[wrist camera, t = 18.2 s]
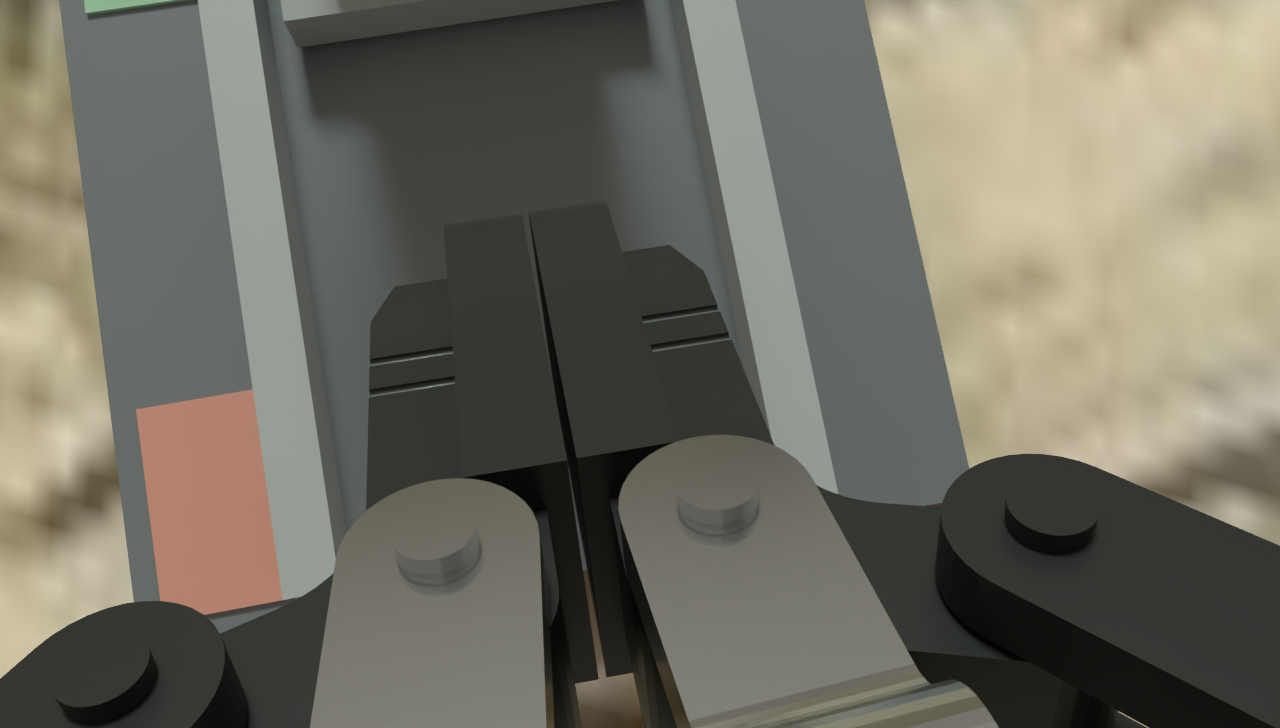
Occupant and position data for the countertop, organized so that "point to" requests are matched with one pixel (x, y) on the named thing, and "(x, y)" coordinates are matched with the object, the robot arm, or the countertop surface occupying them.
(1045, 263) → the countertop surface
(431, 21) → the lever
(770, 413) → the breaker panel
